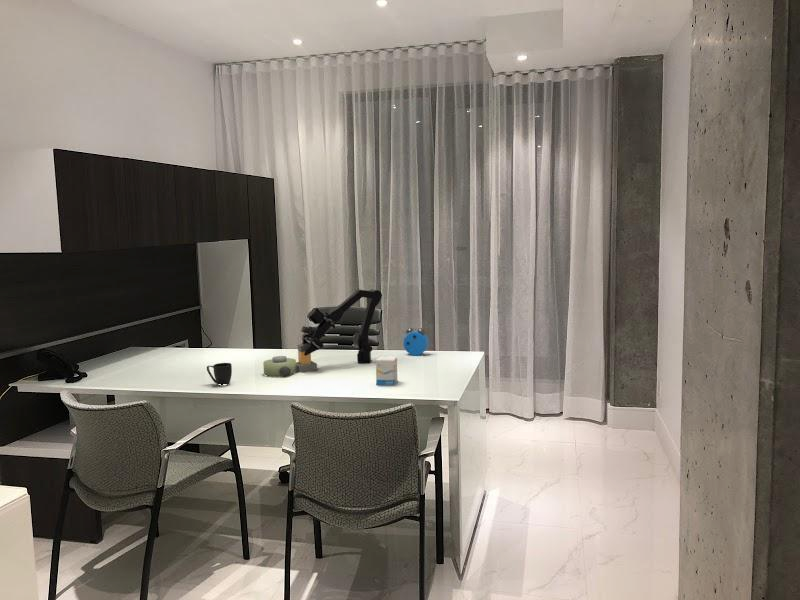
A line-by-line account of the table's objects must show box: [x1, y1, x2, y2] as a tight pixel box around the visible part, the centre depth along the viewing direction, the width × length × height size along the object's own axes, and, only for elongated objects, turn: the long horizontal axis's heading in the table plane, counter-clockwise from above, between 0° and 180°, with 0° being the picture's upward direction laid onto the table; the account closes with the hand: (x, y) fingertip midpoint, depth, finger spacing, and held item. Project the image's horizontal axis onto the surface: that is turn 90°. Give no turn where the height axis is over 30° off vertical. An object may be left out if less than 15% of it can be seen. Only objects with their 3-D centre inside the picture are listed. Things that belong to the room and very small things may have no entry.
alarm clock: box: [402, 327, 429, 356], centre depth 360 cm, size 13×6×15 cm, turn 74°
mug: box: [206, 362, 233, 385], centre depth 305 cm, size 8×12×10 cm
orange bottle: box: [297, 343, 312, 365], centre depth 330 cm, size 5×5×13 cm
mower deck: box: [262, 355, 318, 378], centre depth 327 cm, size 26×20×8 cm
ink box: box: [375, 355, 398, 386], centre depth 297 cm, size 9×8×12 cm
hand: (301, 353), depth 329 cm, fingers open, 9 cm apart
